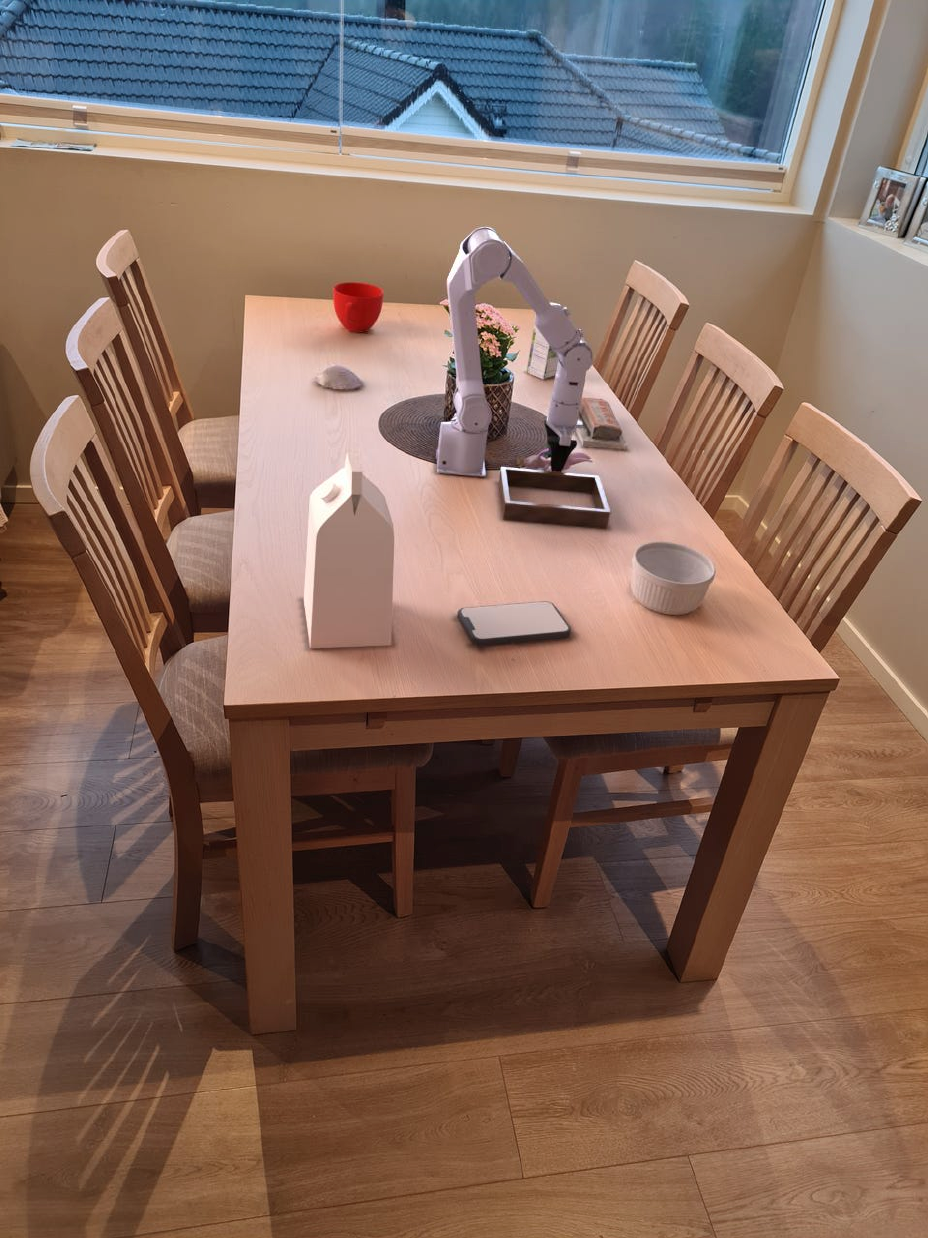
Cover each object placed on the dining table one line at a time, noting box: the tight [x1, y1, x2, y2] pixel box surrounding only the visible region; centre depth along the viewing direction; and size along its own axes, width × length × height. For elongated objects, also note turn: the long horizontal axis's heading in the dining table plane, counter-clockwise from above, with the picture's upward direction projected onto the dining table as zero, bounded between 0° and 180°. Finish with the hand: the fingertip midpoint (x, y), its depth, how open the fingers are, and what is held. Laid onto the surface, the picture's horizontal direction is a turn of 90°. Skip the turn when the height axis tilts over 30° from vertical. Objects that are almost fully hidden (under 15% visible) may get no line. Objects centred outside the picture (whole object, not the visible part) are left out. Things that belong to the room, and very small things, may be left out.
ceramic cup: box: [332, 281, 385, 333], centre depth 243 cm, size 13×17×10 cm
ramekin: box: [630, 541, 716, 616], centre depth 152 cm, size 13×13×7 cm
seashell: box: [314, 364, 362, 391], centre depth 213 cm, size 10×6×10 cm
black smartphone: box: [456, 600, 572, 648], centre depth 141 cm, size 9×2×16 cm
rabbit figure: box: [516, 444, 593, 472], centre depth 187 cm, size 6×6×15 cm
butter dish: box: [575, 397, 628, 451], centre depth 206 cm, size 18×5×10 cm
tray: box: [498, 466, 612, 530], centre depth 175 cm, size 19×15×4 cm
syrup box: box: [526, 324, 561, 380], centre depth 230 cm, size 6×6×14 cm
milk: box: [303, 451, 395, 649], centre depth 131 cm, size 12×12×26 cm
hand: (554, 463), depth 188 cm, fingers closed on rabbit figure, 6 cm apart
